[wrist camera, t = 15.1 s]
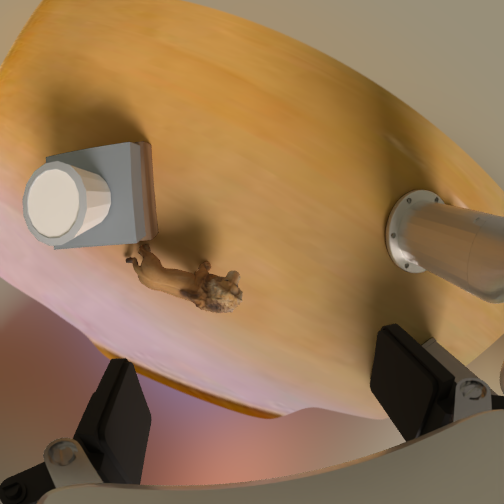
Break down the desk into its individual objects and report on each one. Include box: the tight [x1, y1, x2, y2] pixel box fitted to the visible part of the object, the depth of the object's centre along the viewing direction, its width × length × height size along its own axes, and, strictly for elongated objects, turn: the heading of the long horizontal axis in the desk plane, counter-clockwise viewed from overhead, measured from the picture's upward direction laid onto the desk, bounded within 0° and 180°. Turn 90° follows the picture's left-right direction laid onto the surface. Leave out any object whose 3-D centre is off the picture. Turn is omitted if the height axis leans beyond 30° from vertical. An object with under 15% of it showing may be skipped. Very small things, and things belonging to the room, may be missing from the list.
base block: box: [134, 141, 158, 241], centre depth 33 cm, size 11×11×4 cm
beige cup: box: [23, 161, 111, 246], centre depth 23 cm, size 7×7×7 cm
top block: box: [46, 142, 146, 250], centre depth 29 cm, size 10×10×4 cm
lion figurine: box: [126, 244, 243, 313], centre depth 34 cm, size 15×5×9 cm, turn 80°
